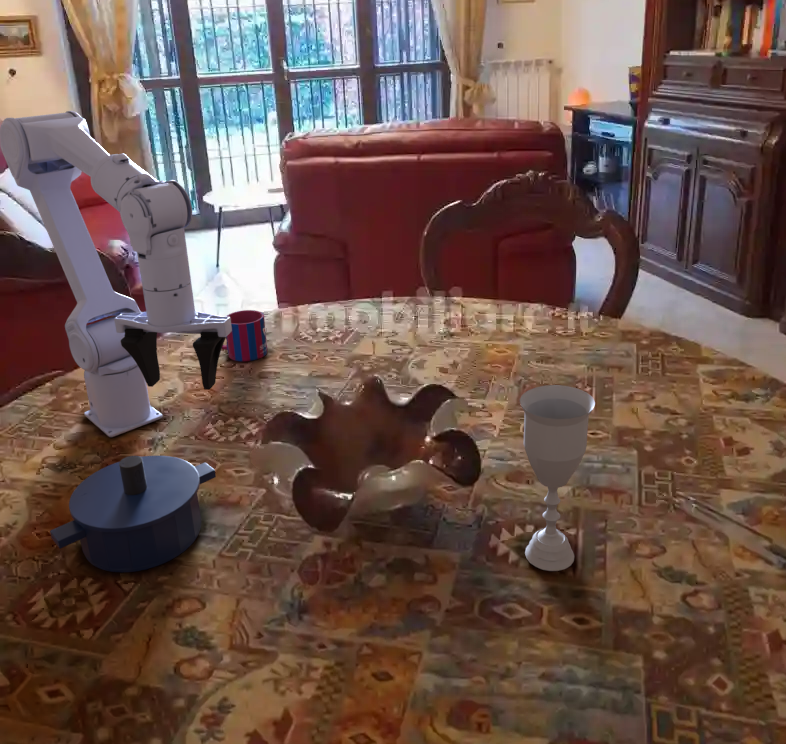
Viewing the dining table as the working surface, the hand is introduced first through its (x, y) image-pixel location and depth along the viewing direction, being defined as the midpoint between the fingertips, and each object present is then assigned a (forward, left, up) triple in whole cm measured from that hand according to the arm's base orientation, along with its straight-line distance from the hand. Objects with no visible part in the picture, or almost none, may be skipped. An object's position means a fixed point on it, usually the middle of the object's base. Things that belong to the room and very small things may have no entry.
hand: (181, 384), depth 95 cm
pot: (+11, -12, -10) cm, 19 cm away
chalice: (+45, +17, -11) cm, 49 cm away
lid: (+11, -12, -5) cm, 17 cm away
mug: (-24, +22, -11) cm, 34 cm away
